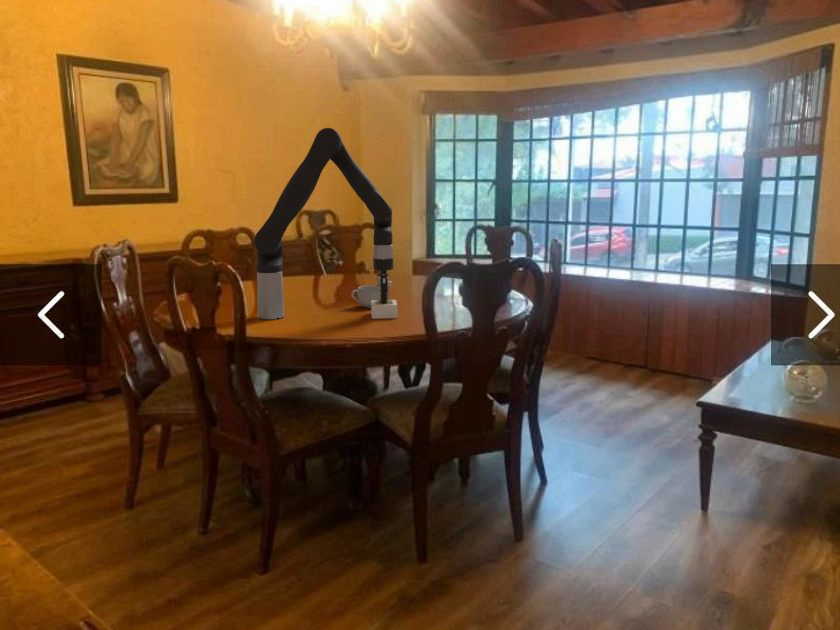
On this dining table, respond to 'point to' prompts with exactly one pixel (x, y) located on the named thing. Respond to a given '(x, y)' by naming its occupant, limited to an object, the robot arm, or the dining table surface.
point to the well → (383, 309)
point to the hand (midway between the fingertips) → (383, 302)
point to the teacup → (366, 295)
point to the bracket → (383, 288)
